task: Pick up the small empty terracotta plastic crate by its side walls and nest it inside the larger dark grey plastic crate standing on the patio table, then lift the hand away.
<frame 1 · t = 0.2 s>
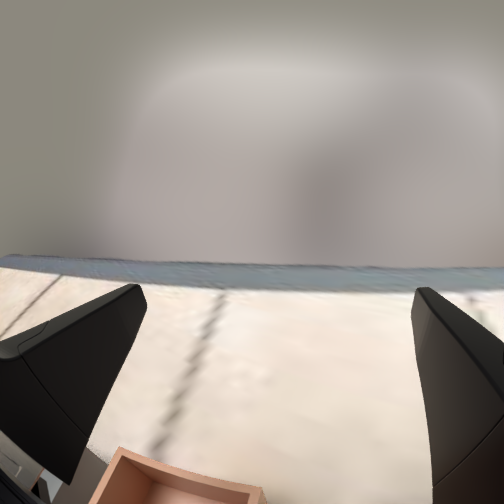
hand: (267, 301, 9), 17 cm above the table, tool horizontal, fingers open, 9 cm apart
big crate: (29, 490, 12), on the table
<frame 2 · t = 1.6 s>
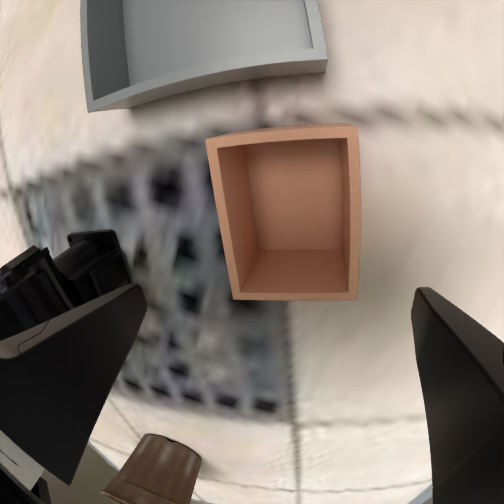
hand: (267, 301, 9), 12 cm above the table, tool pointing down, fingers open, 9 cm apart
plant pot: (171, 447, 45), on the table
small crate: (297, 191, 19), on the table
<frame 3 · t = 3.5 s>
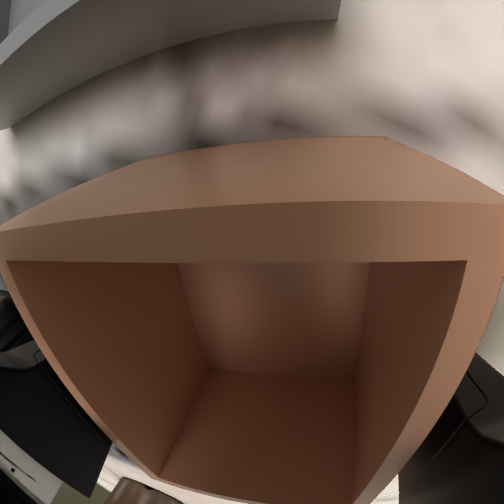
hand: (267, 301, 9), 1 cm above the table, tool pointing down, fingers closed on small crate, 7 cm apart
plant pot: (151, 490, 36), on the table
small crate: (273, 282, 10), on the table, touching gripper
when the fingers open (3 cm above the table, at t = 8.0 s): small crate drops 2 cm, resting on big crate.
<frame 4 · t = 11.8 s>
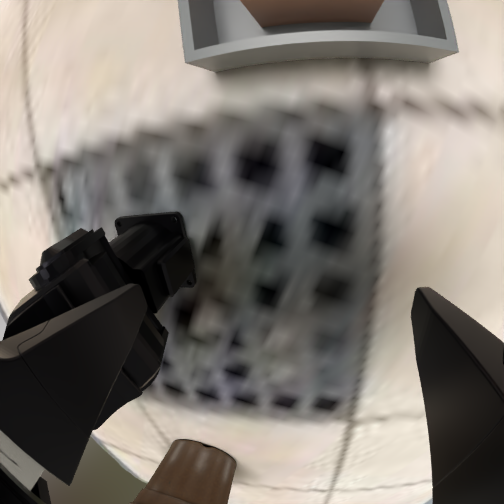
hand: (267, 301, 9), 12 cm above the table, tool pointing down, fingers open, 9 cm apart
plant pot: (203, 452, 43), on the table
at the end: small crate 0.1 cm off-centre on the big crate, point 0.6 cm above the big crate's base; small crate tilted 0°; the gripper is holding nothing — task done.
